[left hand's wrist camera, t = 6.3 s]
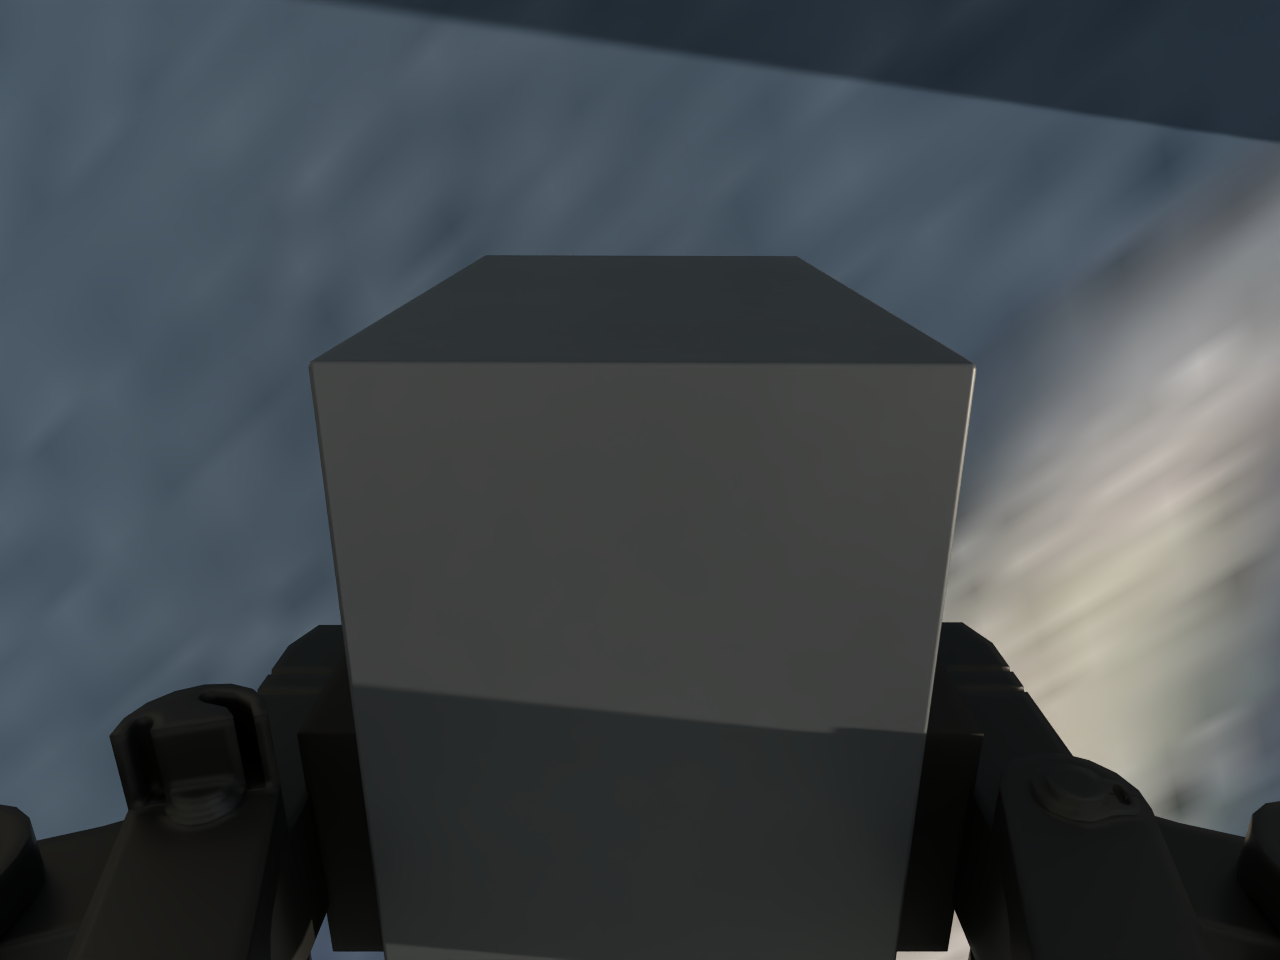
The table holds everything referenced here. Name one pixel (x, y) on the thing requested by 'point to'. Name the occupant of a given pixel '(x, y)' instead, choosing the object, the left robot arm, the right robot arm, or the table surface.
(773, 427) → the post
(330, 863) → the left robot arm
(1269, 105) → the table surface
